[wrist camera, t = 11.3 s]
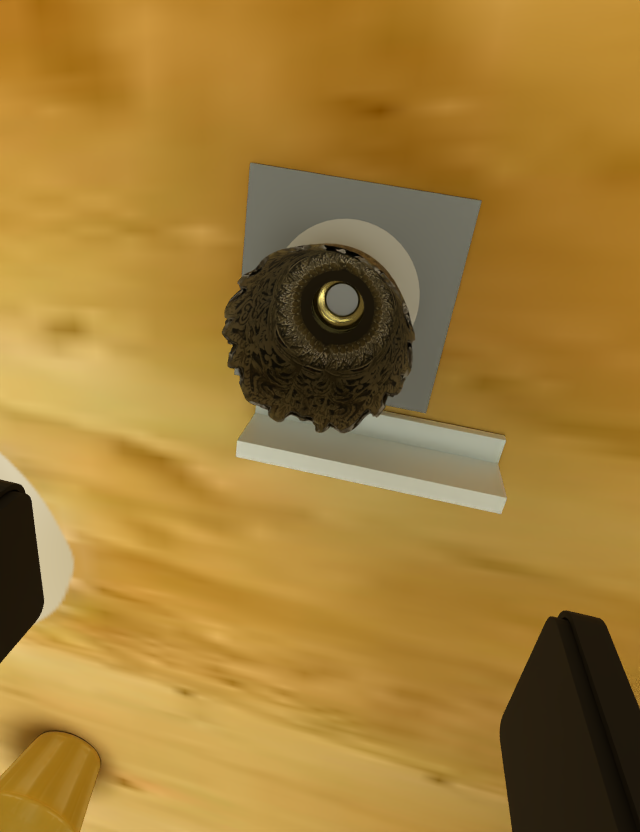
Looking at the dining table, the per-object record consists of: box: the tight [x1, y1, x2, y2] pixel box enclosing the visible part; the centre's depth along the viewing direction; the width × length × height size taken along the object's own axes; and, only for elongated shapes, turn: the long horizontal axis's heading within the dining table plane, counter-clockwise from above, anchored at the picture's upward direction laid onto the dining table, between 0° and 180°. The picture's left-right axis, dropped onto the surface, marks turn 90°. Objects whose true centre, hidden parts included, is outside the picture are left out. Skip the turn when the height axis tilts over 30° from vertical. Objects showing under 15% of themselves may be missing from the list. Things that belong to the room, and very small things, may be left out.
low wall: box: [236, 405, 507, 514], centre depth 29 cm, size 4×14×4 cm, turn 82°
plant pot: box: [0, 731, 101, 832], centre depth 46 cm, size 10×10×10 cm
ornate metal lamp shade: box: [222, 243, 415, 433], centre depth 24 cm, size 8×7×8 cm
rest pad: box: [234, 163, 481, 413], centre depth 27 cm, size 11×11×1 cm
